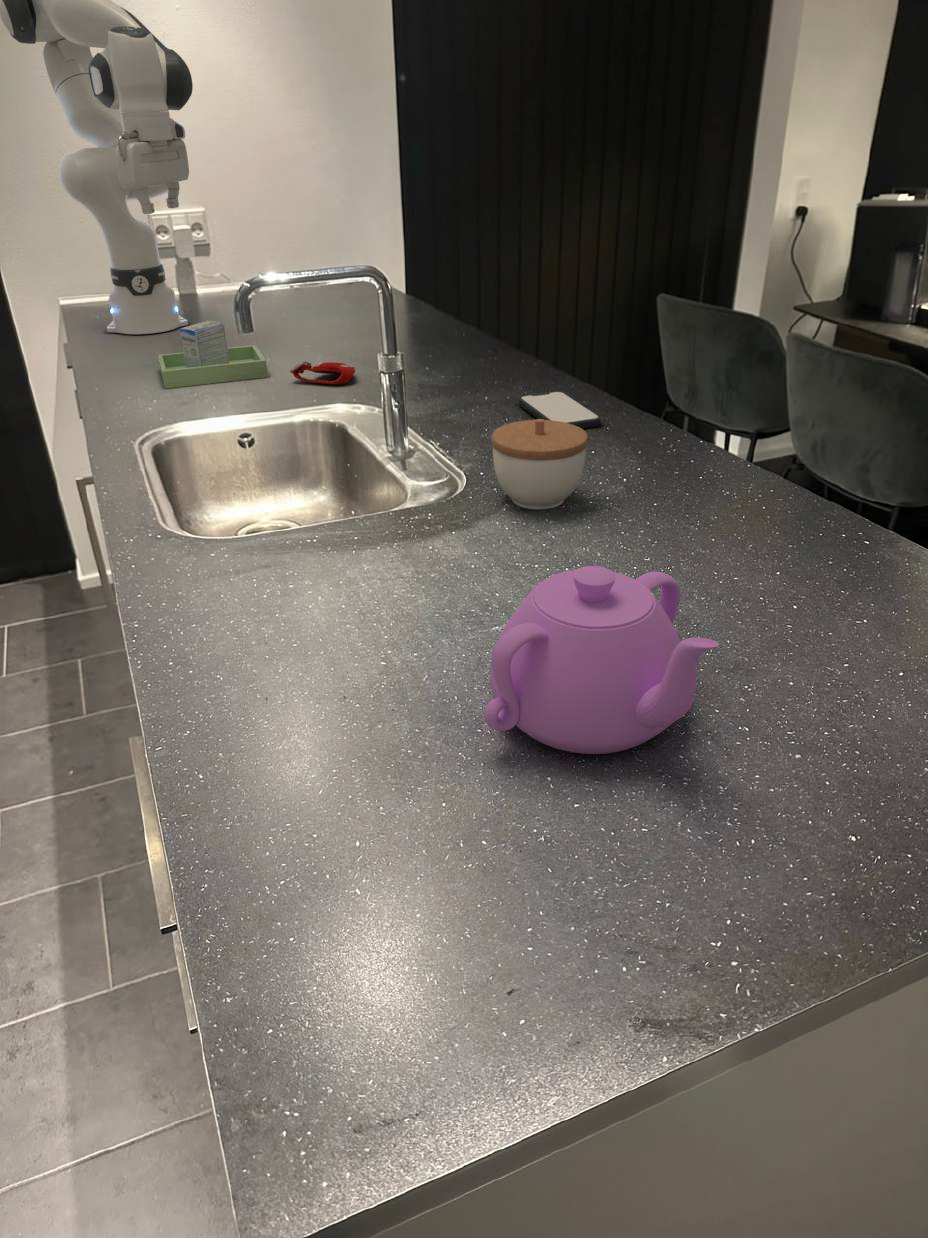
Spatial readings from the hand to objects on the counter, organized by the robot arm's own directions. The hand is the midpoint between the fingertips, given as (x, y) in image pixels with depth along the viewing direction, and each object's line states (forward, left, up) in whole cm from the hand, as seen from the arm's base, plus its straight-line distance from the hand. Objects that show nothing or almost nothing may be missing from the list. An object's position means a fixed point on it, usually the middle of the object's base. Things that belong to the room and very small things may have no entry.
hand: (161, 210), depth 175 cm
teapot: (+144, +23, -29) cm, 149 cm away
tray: (+12, +4, -29) cm, 32 cm away
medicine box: (+12, +3, -28) cm, 31 cm away
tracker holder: (+26, +24, -29) cm, 46 cm away
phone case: (+64, +56, -29) cm, 90 cm away
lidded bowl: (+96, +38, -29) cm, 107 cm away
